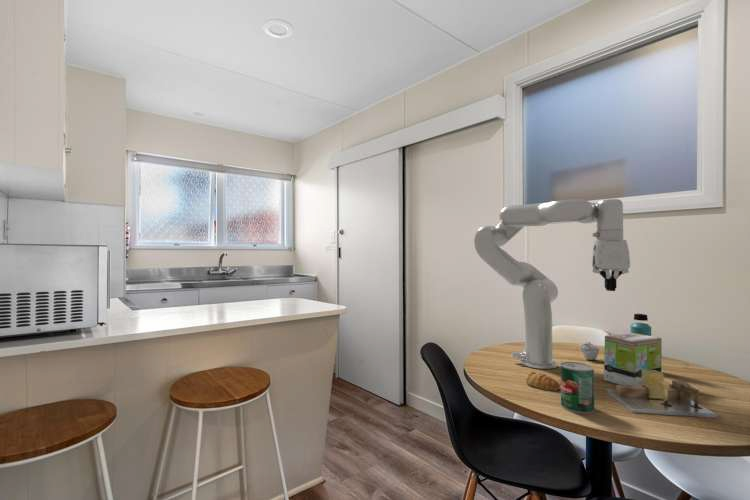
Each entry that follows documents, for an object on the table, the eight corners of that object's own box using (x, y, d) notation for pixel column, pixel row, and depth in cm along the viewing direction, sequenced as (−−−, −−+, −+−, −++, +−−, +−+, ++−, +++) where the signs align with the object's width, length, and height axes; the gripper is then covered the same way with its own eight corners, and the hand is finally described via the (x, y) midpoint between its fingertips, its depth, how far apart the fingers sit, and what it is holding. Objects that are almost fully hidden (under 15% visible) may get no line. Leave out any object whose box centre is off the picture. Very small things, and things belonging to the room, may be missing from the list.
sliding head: (659, 404, 97) (658, 378, 97) (641, 393, 105) (641, 369, 105) (674, 405, 96) (674, 379, 97) (655, 393, 105) (655, 370, 105)
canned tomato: (600, 409, 97) (599, 367, 97) (584, 416, 92) (584, 372, 93) (570, 399, 103) (570, 360, 104) (554, 405, 99) (554, 364, 99)
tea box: (636, 390, 111) (636, 341, 112) (603, 380, 120) (602, 335, 121) (662, 382, 118) (662, 336, 119) (629, 374, 127) (628, 331, 128)
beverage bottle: (645, 367, 135) (644, 312, 136) (657, 372, 129) (656, 315, 129) (626, 366, 136) (625, 312, 137) (637, 372, 130) (636, 315, 130)
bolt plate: (632, 412, 95) (632, 408, 95) (607, 393, 109) (607, 389, 109) (716, 418, 92) (716, 413, 92) (679, 397, 106) (679, 393, 106)
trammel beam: (629, 403, 98) (629, 386, 98) (614, 392, 106) (614, 377, 107) (702, 408, 95) (702, 390, 96) (681, 396, 104) (681, 380, 104)
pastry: (564, 388, 113) (563, 376, 113) (553, 394, 108) (553, 381, 109) (534, 381, 120) (534, 369, 120) (523, 385, 116) (523, 373, 116)
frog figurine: (578, 357, 150) (578, 339, 150) (598, 358, 147) (597, 341, 147) (581, 360, 144) (580, 342, 144) (601, 362, 141) (601, 344, 142)
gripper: (590, 235, 122) (591, 291, 121) (640, 235, 120) (641, 292, 119) (581, 237, 129) (582, 289, 129) (628, 236, 127) (629, 290, 126)
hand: (610, 290), depth 124 cm, fingers closed
